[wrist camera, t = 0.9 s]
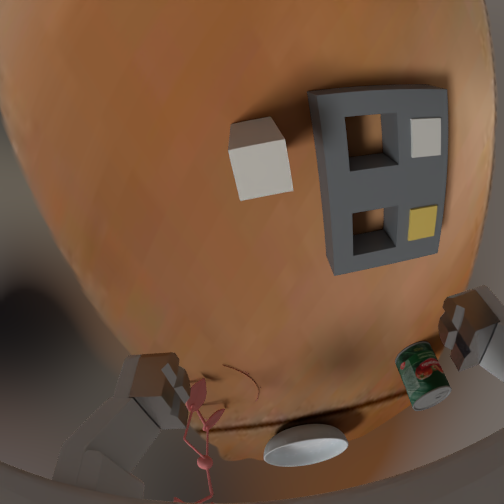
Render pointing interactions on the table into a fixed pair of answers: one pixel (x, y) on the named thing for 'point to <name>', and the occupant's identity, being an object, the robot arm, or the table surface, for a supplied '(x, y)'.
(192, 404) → the figurine
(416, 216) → the socket block
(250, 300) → the table surface
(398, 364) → the canned tomato
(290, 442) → the serving bowl
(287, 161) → the plug
